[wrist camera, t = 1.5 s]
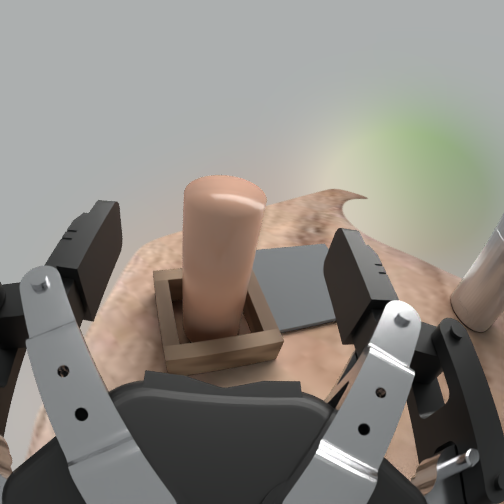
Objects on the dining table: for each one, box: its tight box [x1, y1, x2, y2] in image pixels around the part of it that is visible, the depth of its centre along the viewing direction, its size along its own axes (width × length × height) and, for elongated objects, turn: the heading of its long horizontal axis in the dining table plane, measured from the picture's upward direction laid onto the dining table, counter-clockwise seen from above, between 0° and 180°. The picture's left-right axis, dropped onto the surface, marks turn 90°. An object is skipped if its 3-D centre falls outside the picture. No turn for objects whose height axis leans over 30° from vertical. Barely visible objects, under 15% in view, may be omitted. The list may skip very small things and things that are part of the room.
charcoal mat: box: [252, 244, 336, 333], centre depth 39 cm, size 13×13×1 cm
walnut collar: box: [153, 268, 284, 376], centre depth 31 cm, size 11×11×4 cm
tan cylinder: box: [182, 175, 267, 343], centre depth 28 cm, size 8×6×16 cm
